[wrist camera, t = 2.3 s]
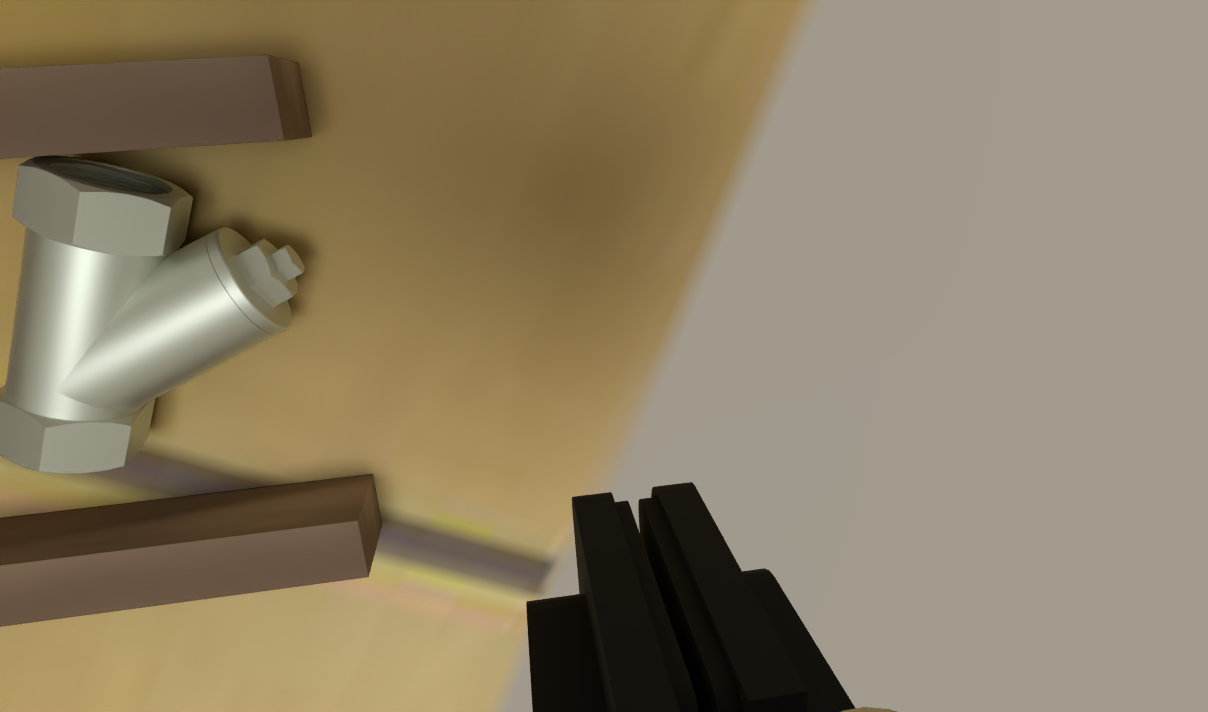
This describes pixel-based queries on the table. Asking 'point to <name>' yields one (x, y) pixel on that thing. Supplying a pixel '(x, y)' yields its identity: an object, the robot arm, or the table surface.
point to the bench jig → (193, 523)
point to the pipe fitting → (121, 310)
